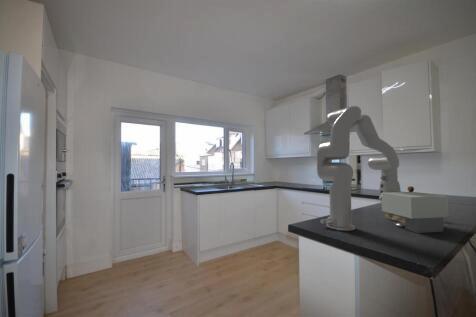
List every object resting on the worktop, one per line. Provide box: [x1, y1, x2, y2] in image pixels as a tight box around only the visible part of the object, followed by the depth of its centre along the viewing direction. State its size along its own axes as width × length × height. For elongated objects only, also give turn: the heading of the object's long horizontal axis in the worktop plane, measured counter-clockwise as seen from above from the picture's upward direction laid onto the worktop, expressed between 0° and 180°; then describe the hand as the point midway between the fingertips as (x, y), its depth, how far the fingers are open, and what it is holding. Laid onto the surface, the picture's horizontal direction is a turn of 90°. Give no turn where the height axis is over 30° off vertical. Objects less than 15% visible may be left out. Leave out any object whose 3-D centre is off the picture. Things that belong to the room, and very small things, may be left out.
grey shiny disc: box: [394, 221, 405, 228], centre depth 107 cm, size 5×5×1 cm
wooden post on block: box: [384, 212, 405, 223], centre depth 113 cm, size 16×3×12 cm, turn 10°
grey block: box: [381, 191, 449, 234], centre depth 105 cm, size 20×17×16 cm
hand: (389, 211), depth 119 cm, fingers closed on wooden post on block, 3 cm apart
